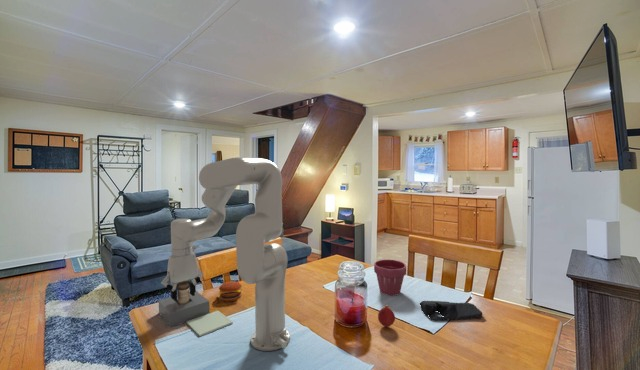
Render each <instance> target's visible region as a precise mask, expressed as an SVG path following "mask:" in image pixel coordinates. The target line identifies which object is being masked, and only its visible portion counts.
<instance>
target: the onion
mask: <svg viewBox="0 0 640 370" xmlns="http://www.w3.org/2000/svg"><path fill="white" fill-rule="evenodd" d="M377 319H378V322H379V323H380V325H381V326H383V327H384V328H389V327H390V326H393V324H394V322H395V321H396V315H395V313H394V311H393V309H391V308H390V306H389V305H388V304H386V305H385V306H384V307H382V308H381V309H380V310H379V311H378V314H377Z"/></svg>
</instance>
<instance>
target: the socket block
mask: <svg viewBox="0 0 640 370" xmlns="http://www.w3.org/2000/svg"><path fill="white" fill-rule="evenodd" d="M189 301H190V302H188V303H184V304H181V305H179V304H178V294H177V301H174V300H173V299H172V298H171V296H170V297H166V298H162V299H160V300H158V314H159V315H160V316H161V318H163V320H164V321H165V322H166V324H167V325H168V326H169V327H170V328H172V327H175V326H178V325H180V324H183V323H186V321H189V320H192V319H195V318H198V317H201V316H203V315H206V314H209V313H210V300H209V299H208V298H206V297H204V296H203V294H200V293H199V292H198V291H197V290H196V292H195V296H192V295H191V294H190V291H189Z"/></svg>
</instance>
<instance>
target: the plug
mask: <svg viewBox="0 0 640 370" xmlns="http://www.w3.org/2000/svg"><path fill="white" fill-rule="evenodd" d="M189 292H190V281H189V280H187V281H183V282H179V283H177V295H178V304H179V305H181V304H184V303H188V302H190V301H189Z"/></svg>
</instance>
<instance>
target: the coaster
mask: <svg viewBox="0 0 640 370" xmlns="http://www.w3.org/2000/svg"><path fill="white" fill-rule="evenodd" d="M185 323H186V324H187V325H188V326H189V328H190V329H191V330H193V331H194V332H195V334H196V335H197V336H198V337H202V336H205V335H208V334H210V333H213V332H214V331H217V329H218V330H219V329H223V328H225V327H227V326H230V325H233V324H234V322H233V321H232V320H231V319H230V318H228V317H227V316H226V315H225V314H223V313H222V312H221V311H219V310H215V311H212V312H209V314H206V315H203V316H201V317H198V318H195V319H192V320H189V321H186V322H185Z"/></svg>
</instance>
